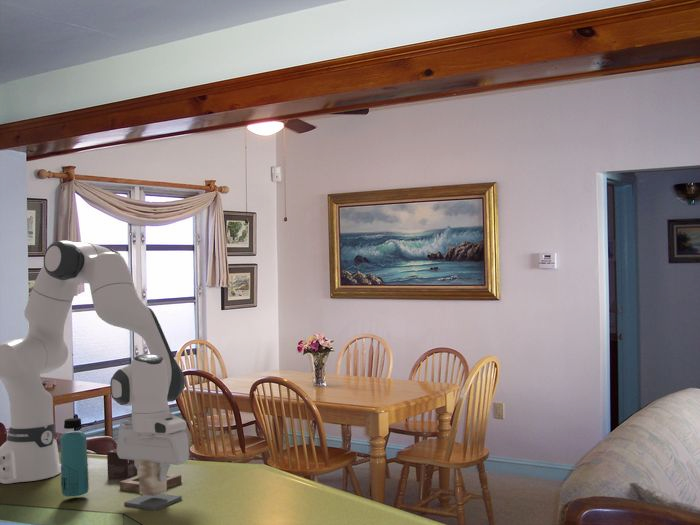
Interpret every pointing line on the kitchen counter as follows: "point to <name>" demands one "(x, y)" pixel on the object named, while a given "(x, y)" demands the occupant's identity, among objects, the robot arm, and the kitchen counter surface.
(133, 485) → the pocket holder
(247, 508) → the kitchen counter surface
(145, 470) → the peg block
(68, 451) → the beverage bottle
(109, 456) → the box
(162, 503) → the mat
